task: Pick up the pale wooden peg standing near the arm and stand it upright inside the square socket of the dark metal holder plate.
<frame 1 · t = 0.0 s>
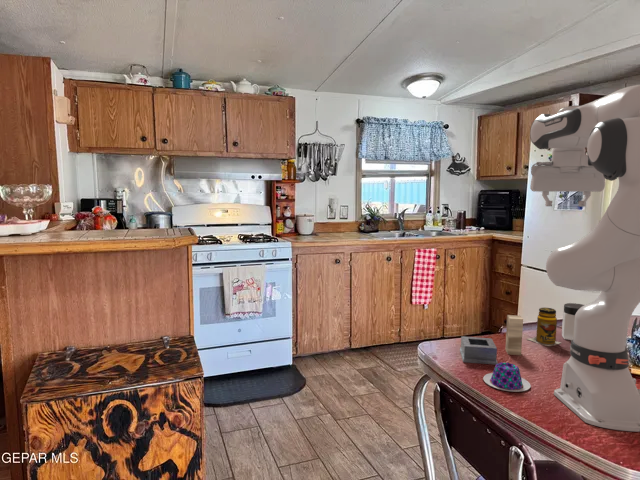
hand: (565, 206, 134), 48 cm above the table, tool pointing down, fingers open, 8 cm apart
wooden peg: (513, 352, 141), on the table
jar: (574, 338, 155), on the table
socket holder: (477, 357, 137), on the table
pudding: (506, 384, 118), on the table
condiment: (543, 342, 152), on the table
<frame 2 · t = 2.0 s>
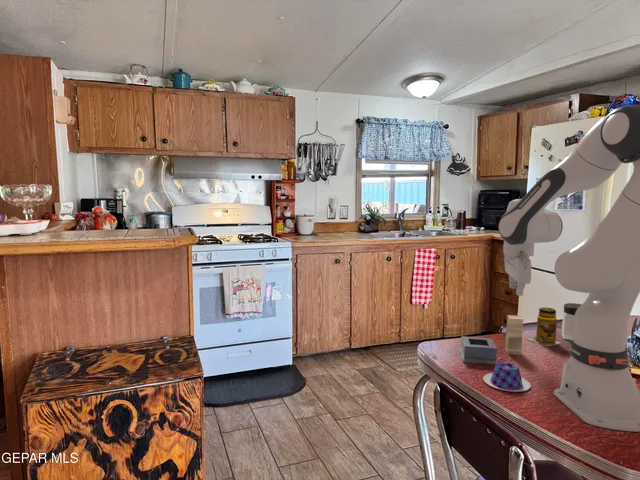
hand: (515, 291, 139), 20 cm above the table, tool pointing down, fingers open, 8 cm apart
nothing on the table moved.
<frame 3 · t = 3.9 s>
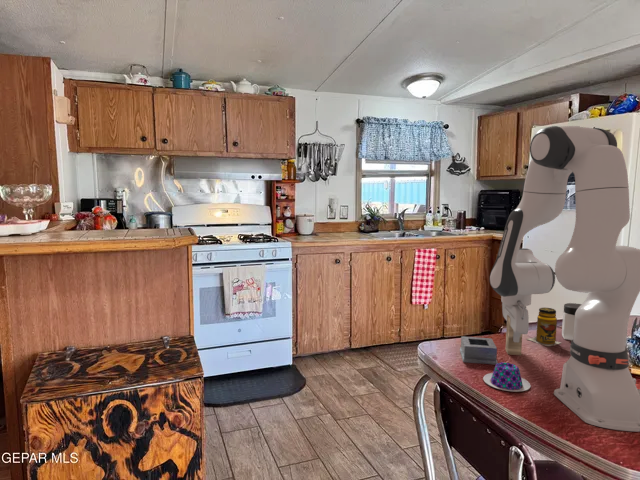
hand: (513, 338, 141), 5 cm above the table, tool pointing down, fingers closed on wooden peg, 4 cm apart
wooden peg: (513, 352, 141), on the table, touching gripper
everything else where it was.
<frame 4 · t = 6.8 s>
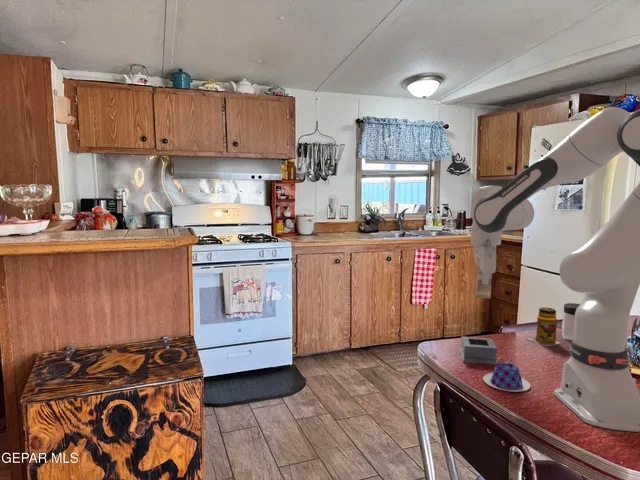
hand: (483, 282, 135), 24 cm above the table, tool pointing down, fingers closed on wooden peg, 4 cm apart
wooden peg: (482, 296, 135), point 20 cm above the table, touching gripper
everything else where it was.
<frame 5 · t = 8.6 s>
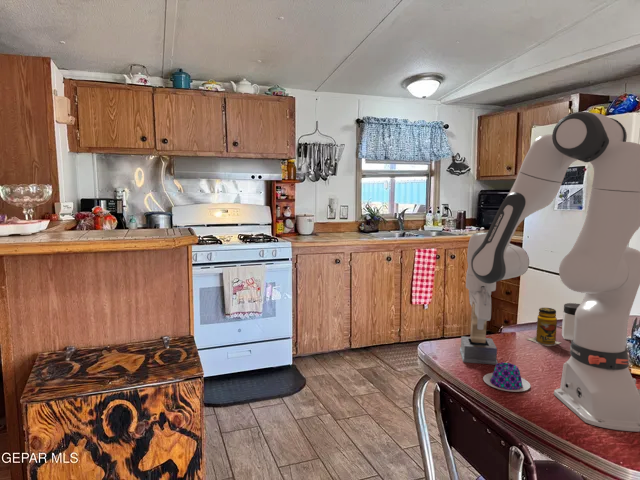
hand: (478, 326, 136), 10 cm above the table, tool pointing down, fingers closed on wooden peg, 4 cm apart
wooden peg: (477, 340, 136), point 6 cm above the table, touching gripper
everything else where it was.
when the fingers open (7 cm above the table, at t = 10.0 s): wooden peg stays where it is, resting on socket holder.
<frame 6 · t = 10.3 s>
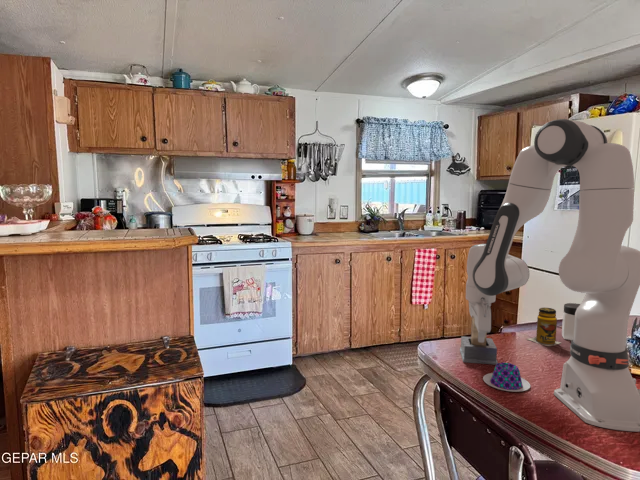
hand: (478, 337, 136), 7 cm above the table, tool pointing down, fingers open, 7 cm apart
wooden peg: (477, 354, 137), point 1 cm above the table, touching socket holder
everything else where it was.
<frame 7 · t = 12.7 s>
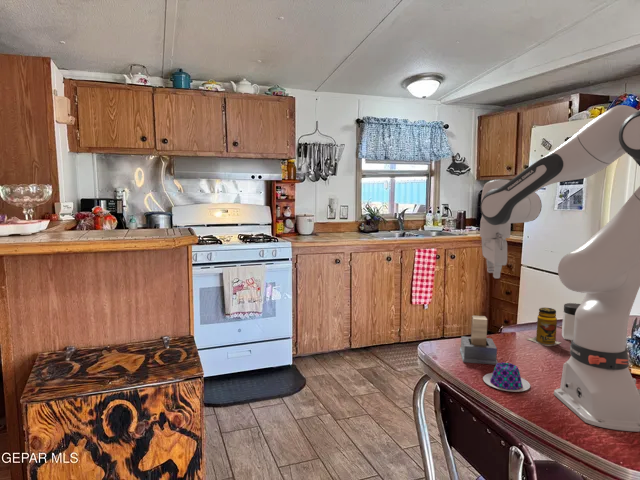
hand: (493, 275, 136), 26 cm above the table, tool pointing down, fingers open, 8 cm apart
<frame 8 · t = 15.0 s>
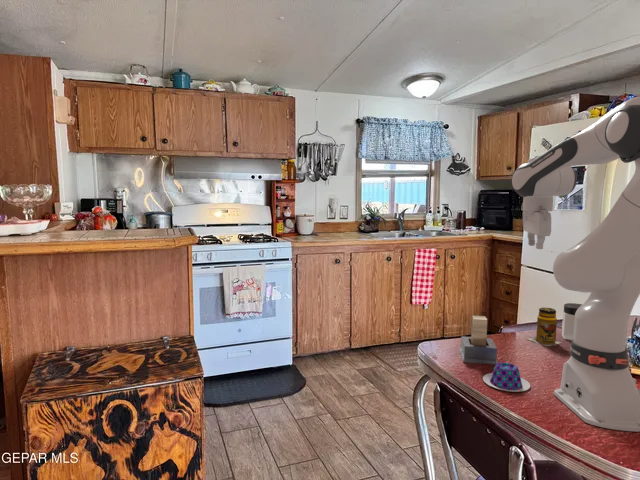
hand: (535, 247, 144), 34 cm above the table, tool pointing down, fingers open, 8 cm apart
at the end: wooden peg 0.1 cm off-centre on the socket holder, point 1.0 cm above the socket holder's base; wooden peg tilted 0°; the gripper is holding nothing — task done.
